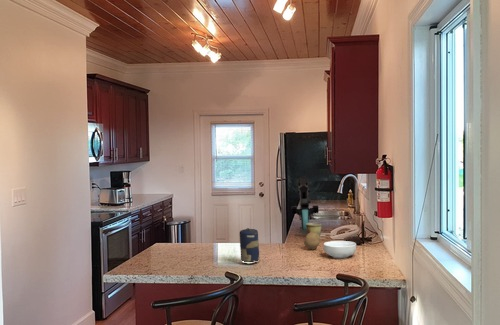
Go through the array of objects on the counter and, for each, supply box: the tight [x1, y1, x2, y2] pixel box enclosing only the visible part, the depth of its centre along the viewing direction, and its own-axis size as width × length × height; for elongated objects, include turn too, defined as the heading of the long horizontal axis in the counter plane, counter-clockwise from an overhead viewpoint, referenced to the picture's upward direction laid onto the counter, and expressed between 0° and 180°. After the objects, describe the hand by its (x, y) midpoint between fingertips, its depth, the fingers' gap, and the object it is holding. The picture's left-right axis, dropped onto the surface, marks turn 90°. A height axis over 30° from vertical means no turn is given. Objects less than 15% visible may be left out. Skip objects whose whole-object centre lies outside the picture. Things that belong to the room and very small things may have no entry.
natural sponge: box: [303, 232, 321, 251], centre depth 245 cm, size 9×9×10 cm
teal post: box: [302, 209, 310, 230], centre depth 295 cm, size 4×4×14 cm
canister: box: [239, 227, 260, 262], centre depth 221 cm, size 10×10×18 cm
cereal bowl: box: [323, 240, 357, 259], centre depth 224 cm, size 17×17×7 cm
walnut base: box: [294, 228, 308, 237], centre depth 295 cm, size 12×12×4 cm
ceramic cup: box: [306, 222, 323, 239], centre depth 277 cm, size 13×10×10 cm
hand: (305, 219), depth 294 cm, fingers closed on teal post, 4 cm apart
